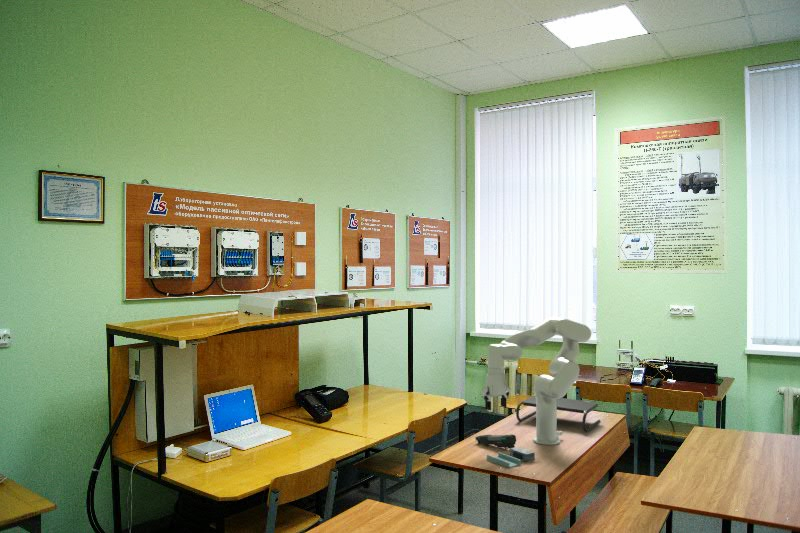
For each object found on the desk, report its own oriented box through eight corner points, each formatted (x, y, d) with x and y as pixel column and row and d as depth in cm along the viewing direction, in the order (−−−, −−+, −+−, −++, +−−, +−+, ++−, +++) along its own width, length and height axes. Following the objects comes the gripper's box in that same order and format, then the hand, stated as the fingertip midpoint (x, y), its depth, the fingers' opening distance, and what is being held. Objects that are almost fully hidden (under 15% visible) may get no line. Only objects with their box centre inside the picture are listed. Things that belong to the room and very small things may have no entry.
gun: (515, 452, 255) (508, 430, 257) (480, 458, 268) (474, 437, 270) (520, 450, 258) (513, 428, 261) (485, 456, 271) (479, 435, 273)
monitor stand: (600, 422, 309) (600, 402, 309) (585, 434, 286) (584, 413, 286) (535, 413, 330) (535, 394, 330) (515, 423, 307) (515, 403, 307)
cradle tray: (499, 456, 251) (499, 452, 251) (520, 464, 240) (520, 460, 240) (486, 459, 247) (486, 455, 247) (508, 468, 236) (508, 463, 236)
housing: (517, 454, 254) (517, 446, 254) (534, 460, 245) (534, 452, 246) (508, 456, 251) (508, 448, 251) (525, 462, 242) (525, 454, 242)
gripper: (503, 368, 273) (503, 404, 272) (476, 371, 263) (476, 409, 263) (515, 370, 266) (515, 407, 266) (487, 374, 257) (487, 412, 256)
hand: (495, 408), depth 264 cm, fingers open, 9 cm apart
